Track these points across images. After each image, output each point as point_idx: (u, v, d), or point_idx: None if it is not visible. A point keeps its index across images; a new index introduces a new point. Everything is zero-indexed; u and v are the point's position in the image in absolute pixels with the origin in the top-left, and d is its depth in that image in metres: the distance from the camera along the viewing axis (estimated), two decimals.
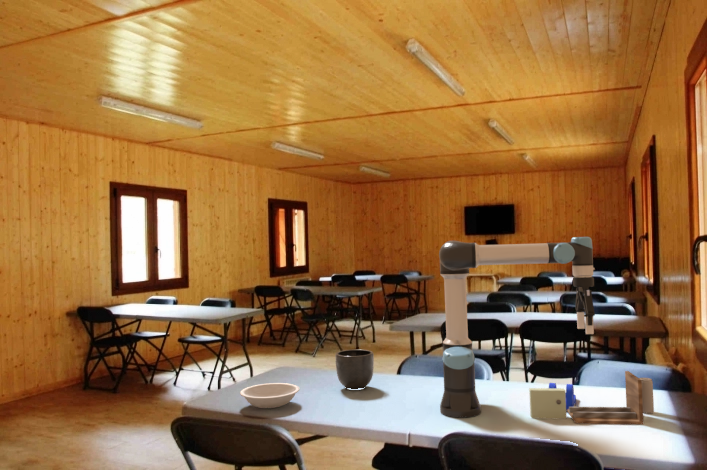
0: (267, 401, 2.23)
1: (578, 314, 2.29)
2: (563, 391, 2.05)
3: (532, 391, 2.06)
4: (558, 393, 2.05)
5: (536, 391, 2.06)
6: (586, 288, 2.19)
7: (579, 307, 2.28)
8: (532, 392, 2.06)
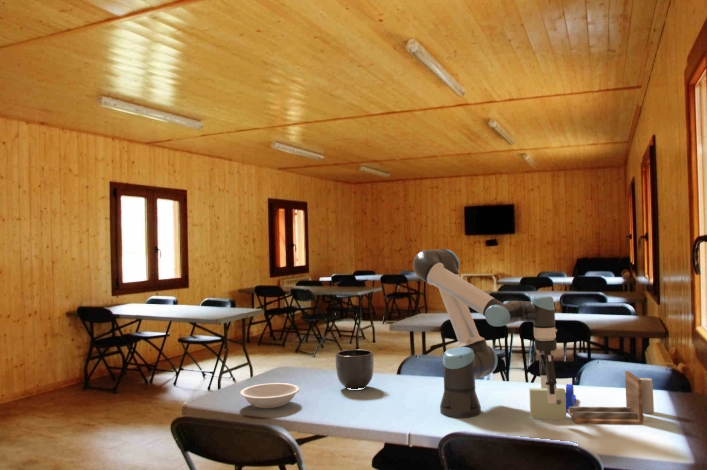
0: (267, 401, 2.23)
1: (542, 378, 2.13)
2: (563, 391, 2.05)
3: (532, 391, 2.06)
4: (558, 393, 2.05)
5: (536, 391, 2.06)
6: (548, 352, 2.03)
7: (543, 370, 2.13)
8: (532, 392, 2.06)
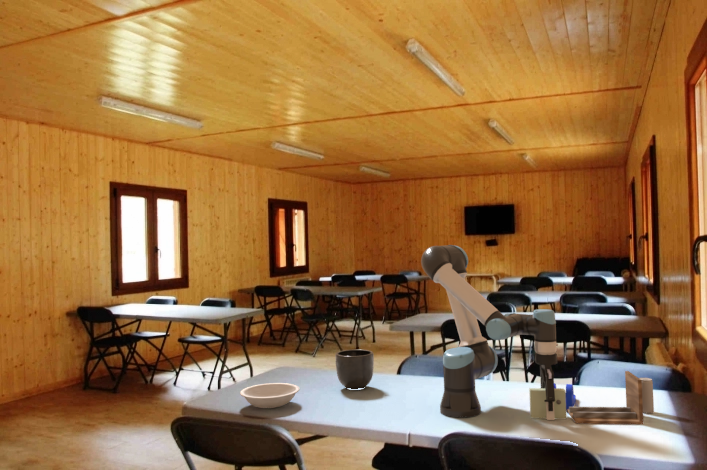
0: (267, 401, 2.23)
1: None
2: (563, 391, 2.05)
3: (532, 391, 2.06)
4: (558, 393, 2.05)
5: (536, 391, 2.06)
6: (548, 366, 2.03)
7: None
8: (532, 392, 2.06)
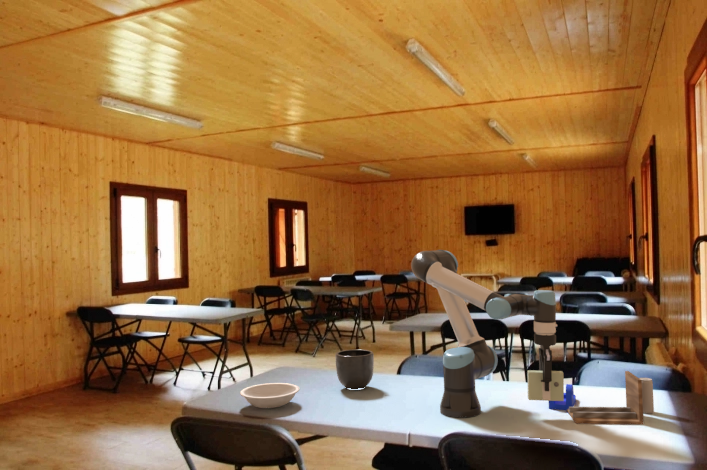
0: (267, 401, 2.23)
1: None
2: (561, 374, 2.05)
3: (530, 373, 2.07)
4: (556, 375, 2.05)
5: (534, 373, 2.06)
6: (547, 347, 2.04)
7: None
8: (530, 374, 2.07)
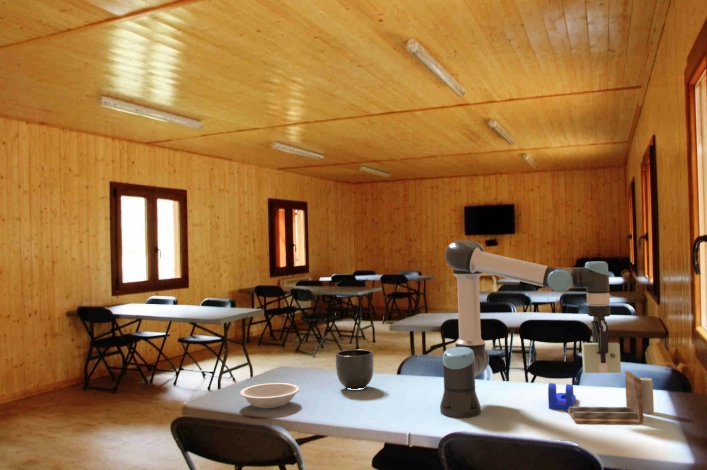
0: (267, 401, 2.23)
1: None
2: (617, 345, 2.02)
3: (585, 345, 2.04)
4: (612, 346, 2.02)
5: (589, 345, 2.03)
6: (602, 318, 2.01)
7: None
8: (585, 346, 2.03)
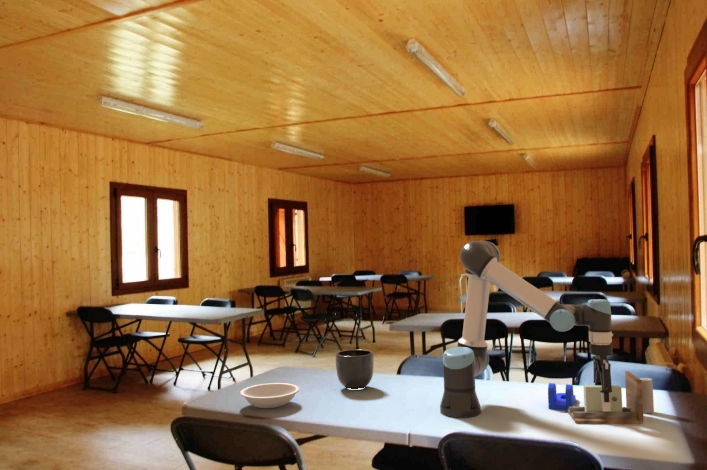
0: (267, 401, 2.23)
1: None
2: (619, 388, 2.02)
3: (587, 388, 2.04)
4: (613, 389, 2.02)
5: (591, 388, 2.03)
6: (604, 357, 2.00)
7: (598, 379, 2.07)
8: (587, 389, 2.04)
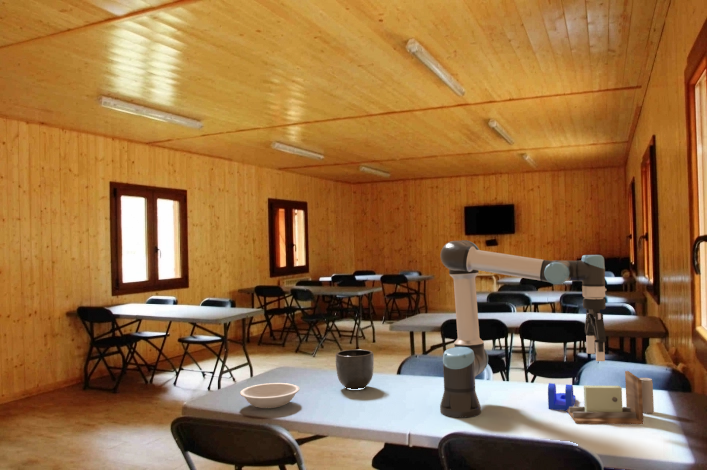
0: (267, 401, 2.23)
1: (588, 338, 2.12)
2: (619, 388, 2.02)
3: (587, 388, 2.03)
4: (614, 390, 2.02)
5: (591, 388, 2.03)
6: (597, 311, 2.02)
7: (589, 330, 2.12)
8: (587, 389, 2.03)
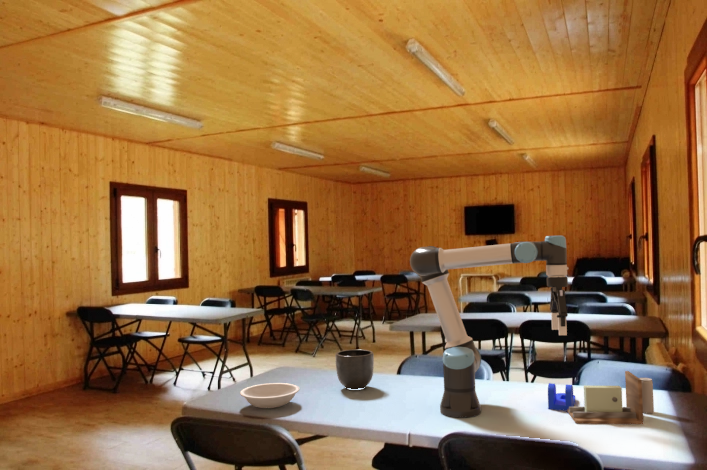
0: (267, 401, 2.23)
1: (552, 315, 2.24)
2: (619, 388, 2.02)
3: (587, 388, 2.03)
4: (614, 390, 2.02)
5: (591, 388, 2.03)
6: (559, 288, 2.14)
7: (553, 307, 2.23)
8: (587, 389, 2.03)
